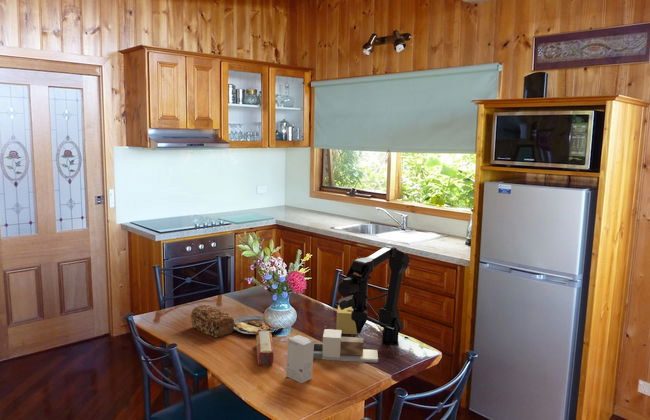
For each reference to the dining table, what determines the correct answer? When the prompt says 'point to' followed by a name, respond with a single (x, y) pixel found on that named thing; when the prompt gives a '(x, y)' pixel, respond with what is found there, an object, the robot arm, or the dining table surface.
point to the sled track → (332, 349)
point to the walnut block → (351, 346)
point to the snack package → (264, 348)
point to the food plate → (252, 320)
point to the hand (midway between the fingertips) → (358, 329)
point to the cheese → (345, 321)
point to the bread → (212, 321)
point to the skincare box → (300, 358)
